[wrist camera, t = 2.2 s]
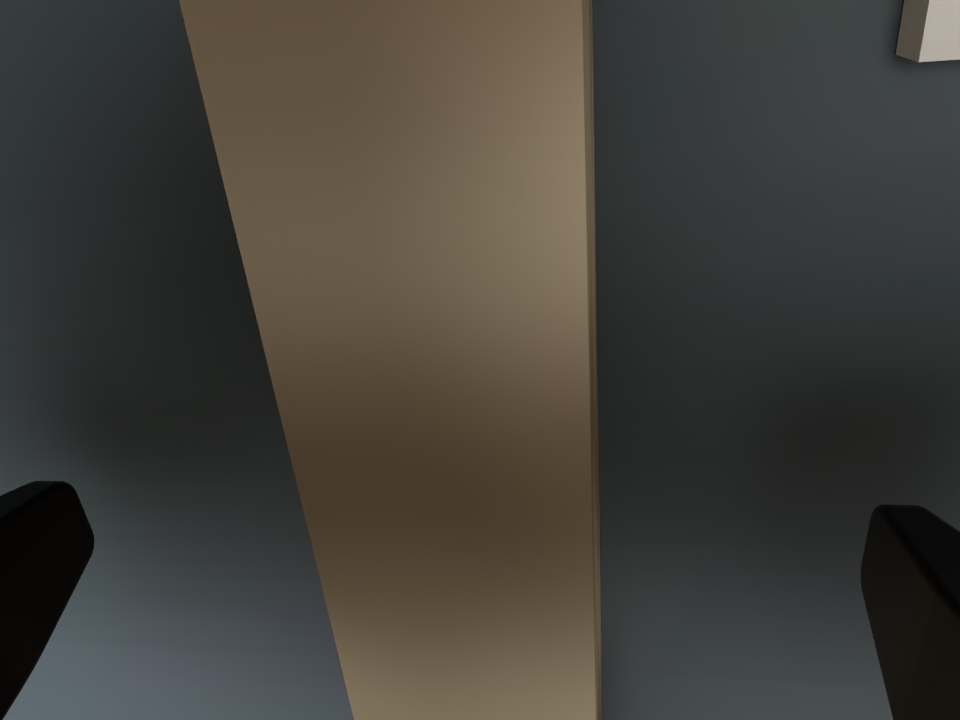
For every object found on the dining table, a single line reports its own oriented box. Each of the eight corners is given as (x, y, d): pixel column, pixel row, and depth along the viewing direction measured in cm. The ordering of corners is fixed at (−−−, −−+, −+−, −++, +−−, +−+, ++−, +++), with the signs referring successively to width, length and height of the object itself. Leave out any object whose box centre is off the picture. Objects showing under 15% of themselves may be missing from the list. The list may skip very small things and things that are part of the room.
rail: (602, 747, 16) (600, 1016, 12) (447, 734, 17) (394, 985, 13) (584, -576, 7) (549, -1297, 3) (251, -502, 8) (-153, -1027, 4)
